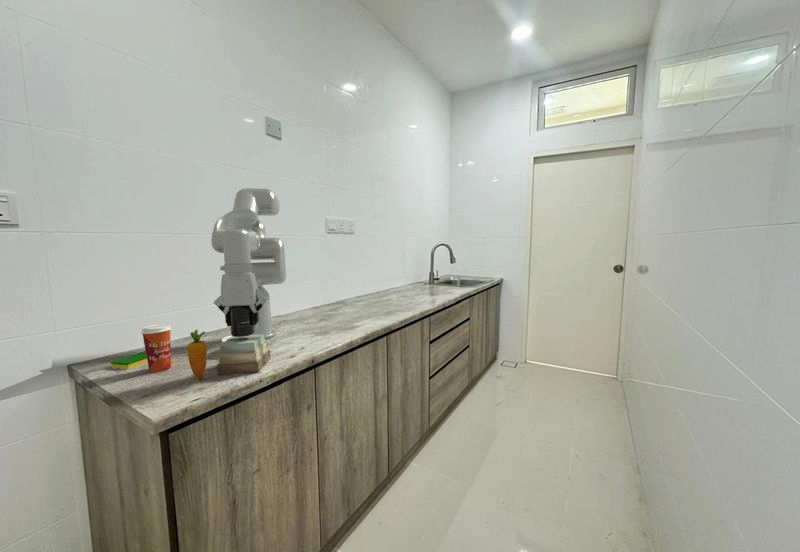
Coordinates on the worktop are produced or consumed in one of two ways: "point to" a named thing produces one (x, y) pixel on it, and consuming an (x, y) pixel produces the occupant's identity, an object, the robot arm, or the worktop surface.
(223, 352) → the layered stepped block
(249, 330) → the supplement bottle
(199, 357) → the carrot
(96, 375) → the worktop surface
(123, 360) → the dish sponge
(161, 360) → the paper cup
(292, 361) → the worktop surface
